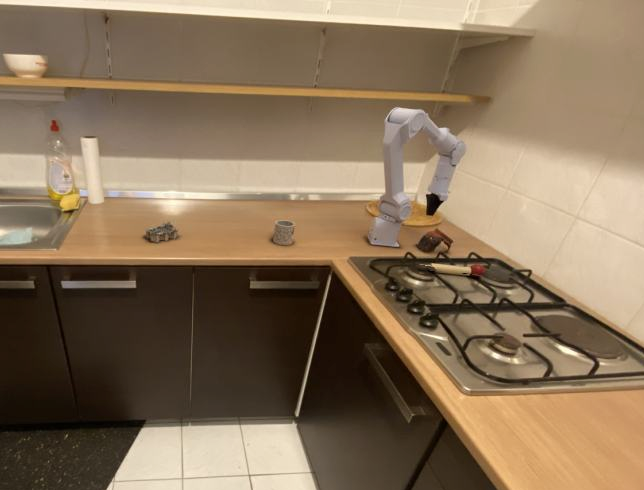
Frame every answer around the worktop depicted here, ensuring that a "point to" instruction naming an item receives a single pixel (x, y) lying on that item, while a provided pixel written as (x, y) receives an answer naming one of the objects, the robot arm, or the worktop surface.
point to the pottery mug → (434, 240)
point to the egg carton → (162, 232)
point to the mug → (283, 232)
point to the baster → (459, 269)
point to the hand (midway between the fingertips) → (429, 215)
